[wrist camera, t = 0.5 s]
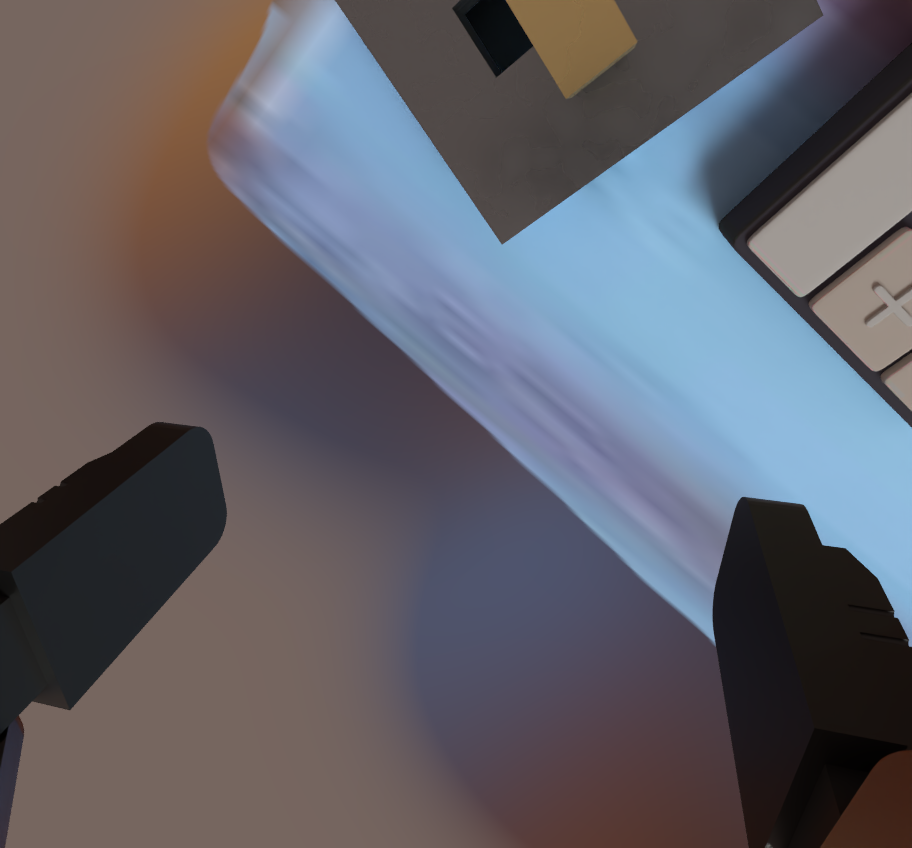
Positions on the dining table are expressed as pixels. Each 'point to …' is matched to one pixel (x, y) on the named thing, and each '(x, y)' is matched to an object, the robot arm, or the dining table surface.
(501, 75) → the lock block
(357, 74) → the dining table surface
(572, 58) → the t key
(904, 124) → the calculator
